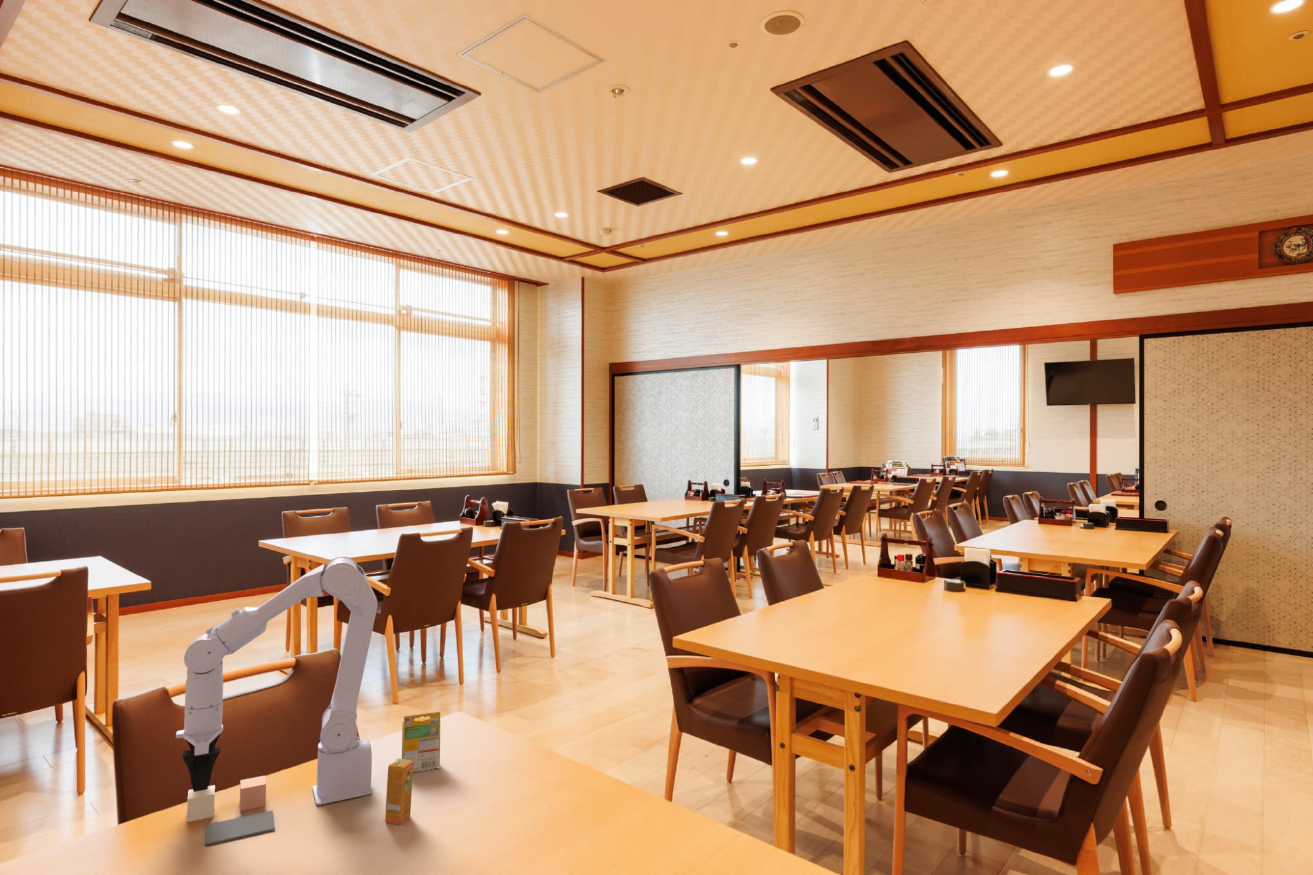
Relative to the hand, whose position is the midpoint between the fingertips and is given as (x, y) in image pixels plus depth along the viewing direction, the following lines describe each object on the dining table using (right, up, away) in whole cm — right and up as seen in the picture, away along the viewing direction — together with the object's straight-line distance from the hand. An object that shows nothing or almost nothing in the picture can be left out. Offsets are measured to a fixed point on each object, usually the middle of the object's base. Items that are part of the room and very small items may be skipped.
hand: (201, 781), depth 127 cm
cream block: (0, -6, 0) cm, 6 cm away
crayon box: (+33, -7, +19) cm, 39 cm away
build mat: (+10, -6, -5) cm, 12 cm away
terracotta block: (+7, -6, +4) cm, 10 cm away
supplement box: (+35, -7, -1) cm, 36 cm away
